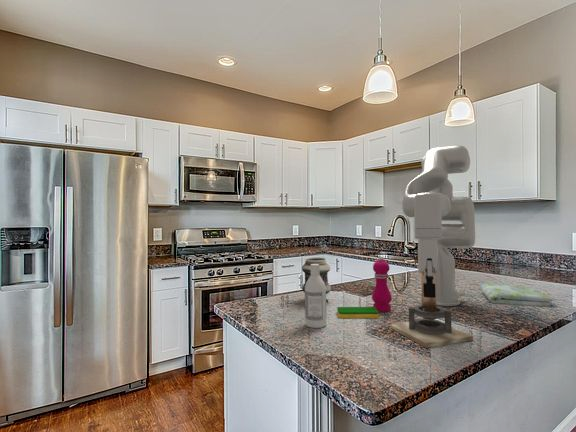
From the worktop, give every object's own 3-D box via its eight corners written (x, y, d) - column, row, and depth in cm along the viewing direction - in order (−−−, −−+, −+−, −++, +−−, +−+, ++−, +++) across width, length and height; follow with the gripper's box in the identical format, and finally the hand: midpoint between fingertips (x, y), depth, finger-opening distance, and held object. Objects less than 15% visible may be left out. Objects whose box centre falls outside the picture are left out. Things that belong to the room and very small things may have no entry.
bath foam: (313, 320, 112) (312, 262, 112) (330, 324, 108) (329, 263, 108) (301, 325, 107) (300, 264, 107) (318, 330, 102) (317, 266, 102)
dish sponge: (337, 313, 121) (337, 306, 121) (375, 313, 120) (374, 306, 120) (338, 319, 114) (338, 312, 114) (379, 319, 113) (378, 312, 113)
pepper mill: (392, 312, 119) (391, 257, 119) (372, 311, 121) (371, 257, 121) (390, 306, 126) (389, 255, 126) (371, 306, 128) (370, 255, 128)
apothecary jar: (298, 304, 133) (297, 260, 133) (307, 297, 144) (306, 256, 144) (326, 306, 128) (326, 261, 128) (334, 299, 140) (333, 257, 139)
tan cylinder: (430, 314, 100) (429, 262, 100) (440, 318, 96) (439, 264, 96) (418, 316, 98) (418, 263, 99) (428, 320, 95) (427, 265, 95)
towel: (554, 308, 122) (554, 294, 122) (489, 304, 129) (489, 291, 129) (535, 296, 139) (535, 284, 139) (479, 293, 146) (479, 282, 146)
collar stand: (432, 322, 107) (432, 299, 107) (473, 340, 92) (472, 313, 92) (390, 328, 103) (390, 304, 103) (425, 347, 87) (425, 319, 87)
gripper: (414, 232, 106) (415, 288, 106) (415, 235, 91) (416, 301, 91) (439, 232, 104) (440, 290, 104) (444, 235, 88) (445, 303, 88)
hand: (429, 294), depth 97 cm, fingers closed on tan cylinder, 4 cm apart
